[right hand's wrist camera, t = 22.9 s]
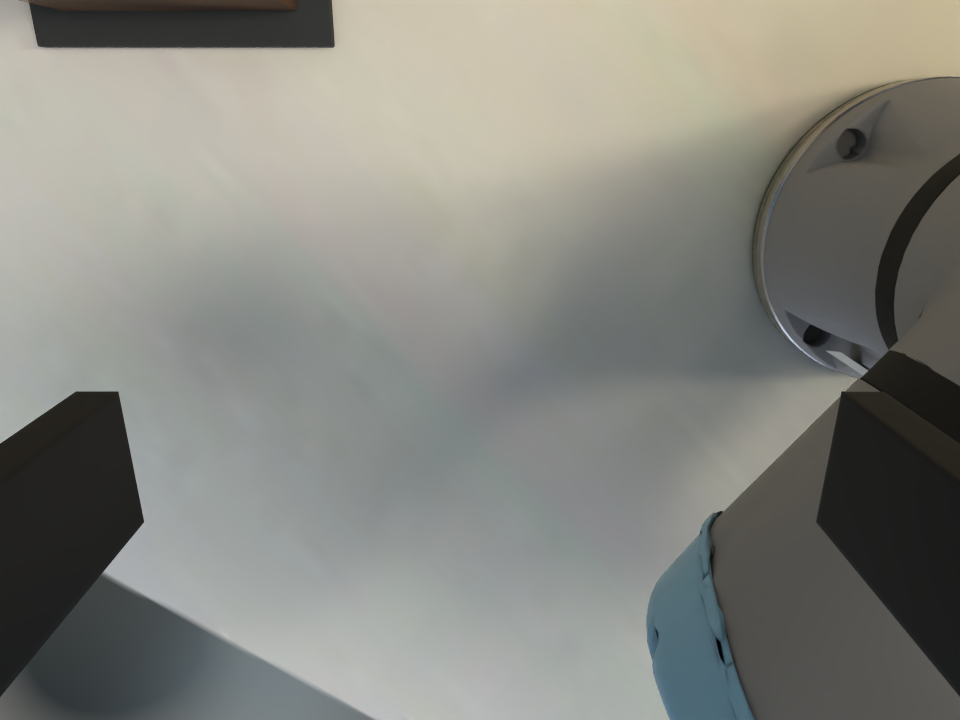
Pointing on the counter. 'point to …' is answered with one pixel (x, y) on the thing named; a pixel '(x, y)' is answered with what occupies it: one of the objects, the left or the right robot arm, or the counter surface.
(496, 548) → the counter surface
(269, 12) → the coaster
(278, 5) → the lid
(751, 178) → the counter surface
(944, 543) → the right robot arm
